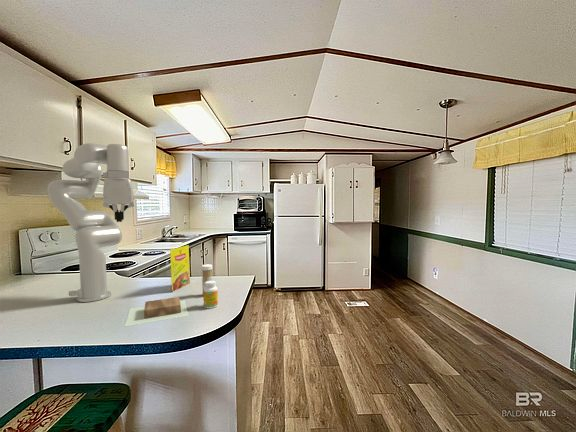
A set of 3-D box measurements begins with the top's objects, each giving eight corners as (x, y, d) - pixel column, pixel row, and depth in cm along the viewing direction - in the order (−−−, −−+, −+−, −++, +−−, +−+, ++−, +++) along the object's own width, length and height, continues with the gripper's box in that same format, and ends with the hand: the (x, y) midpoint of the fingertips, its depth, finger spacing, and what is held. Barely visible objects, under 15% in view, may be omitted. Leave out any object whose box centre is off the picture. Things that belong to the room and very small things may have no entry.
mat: (124, 327, 91) (124, 326, 91) (130, 309, 107) (130, 308, 107) (188, 316, 99) (188, 315, 99) (184, 301, 116) (184, 300, 116)
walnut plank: (144, 310, 97) (180, 304, 102) (145, 301, 106) (179, 296, 111) (144, 318, 97) (180, 312, 102) (145, 309, 106) (179, 304, 111)
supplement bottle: (205, 309, 106) (204, 284, 106) (202, 305, 111) (202, 281, 110) (219, 307, 108) (218, 282, 108) (216, 302, 113) (215, 279, 113)
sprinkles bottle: (200, 295, 123) (199, 265, 123) (209, 292, 127) (208, 263, 126) (206, 297, 120) (205, 266, 120) (215, 294, 124) (214, 264, 123)
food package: (172, 292, 128) (171, 249, 127) (170, 292, 128) (169, 249, 128) (190, 283, 143) (189, 244, 142) (188, 283, 143) (187, 244, 143)
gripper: (93, 174, 104) (95, 222, 105) (138, 176, 110) (139, 221, 111) (97, 175, 111) (99, 221, 112) (140, 177, 117) (140, 220, 118)
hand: (119, 221), depth 111 cm, fingers closed
